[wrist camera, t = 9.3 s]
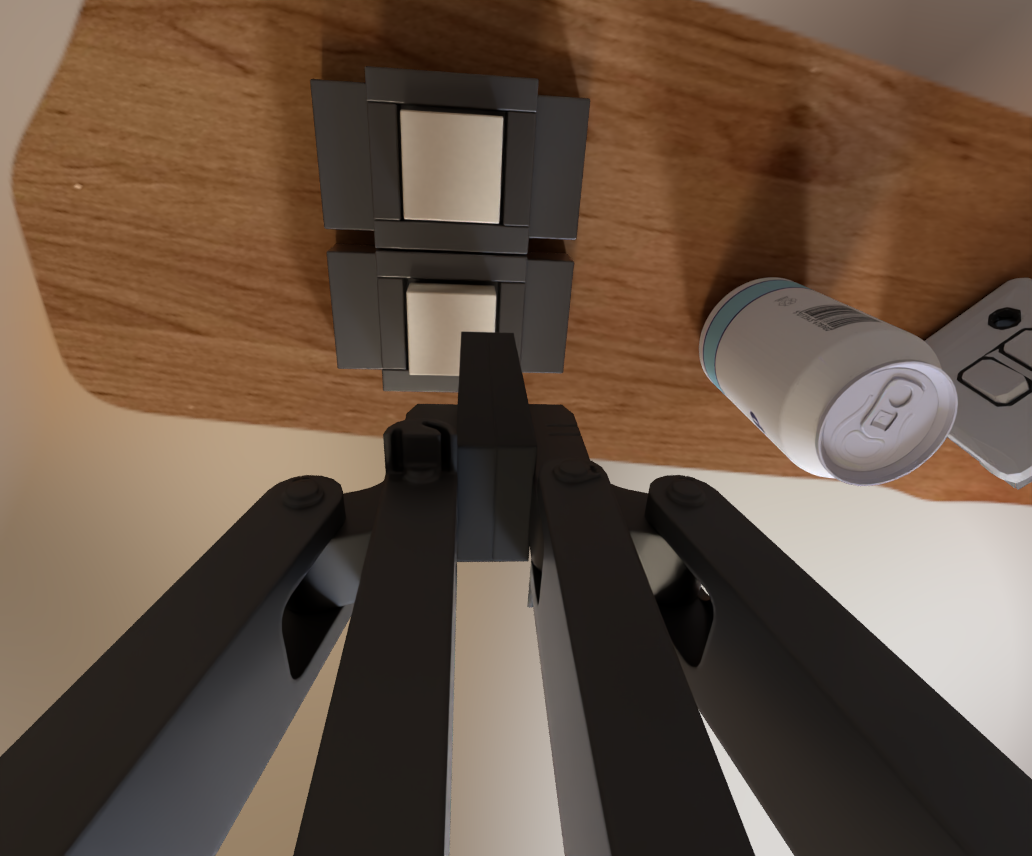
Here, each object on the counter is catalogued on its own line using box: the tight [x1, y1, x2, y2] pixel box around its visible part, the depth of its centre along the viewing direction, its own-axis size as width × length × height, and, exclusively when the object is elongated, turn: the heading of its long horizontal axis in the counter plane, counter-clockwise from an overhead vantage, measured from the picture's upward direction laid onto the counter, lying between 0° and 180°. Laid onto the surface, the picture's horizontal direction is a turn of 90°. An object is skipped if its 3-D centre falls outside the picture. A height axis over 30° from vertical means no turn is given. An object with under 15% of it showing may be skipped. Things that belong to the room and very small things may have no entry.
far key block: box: [327, 244, 574, 392], centre depth 29 cm, size 12×7×4 cm, turn 87°
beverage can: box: [699, 277, 958, 486], centre depth 27 cm, size 7×7×12 cm
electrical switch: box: [924, 278, 1032, 490], centre depth 31 cm, size 9×5×9 cm, turn 132°
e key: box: [406, 283, 496, 376], centre depth 27 cm, size 4×4×2 cm
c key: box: [400, 110, 503, 223], centre depth 23 cm, size 4×4×2 cm
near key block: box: [310, 66, 590, 254], centre depth 26 cm, size 12×7×4 cm, turn 87°
